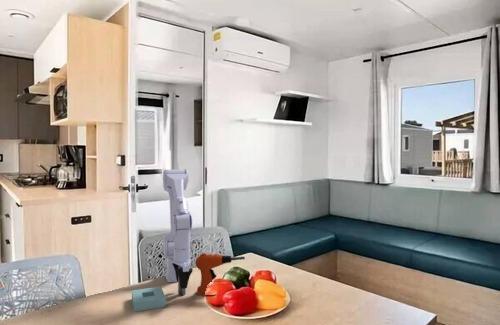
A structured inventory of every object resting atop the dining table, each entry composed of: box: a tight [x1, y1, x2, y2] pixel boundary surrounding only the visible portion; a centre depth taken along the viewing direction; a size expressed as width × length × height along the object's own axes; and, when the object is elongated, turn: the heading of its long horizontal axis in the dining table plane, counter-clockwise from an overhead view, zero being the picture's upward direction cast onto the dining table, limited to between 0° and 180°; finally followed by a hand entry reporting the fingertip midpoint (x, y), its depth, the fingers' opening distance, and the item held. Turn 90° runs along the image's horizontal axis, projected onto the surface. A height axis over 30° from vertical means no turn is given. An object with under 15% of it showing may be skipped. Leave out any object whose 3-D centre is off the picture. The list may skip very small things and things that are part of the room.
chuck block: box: [131, 286, 167, 312], centre depth 120 cm, size 10×10×3 cm
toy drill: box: [195, 252, 246, 296], centre depth 128 cm, size 5×19×15 cm, turn 85°
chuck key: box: [177, 266, 187, 296], centre depth 127 cm, size 3×3×10 cm
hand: (181, 284), depth 127 cm, fingers open, 6 cm apart
